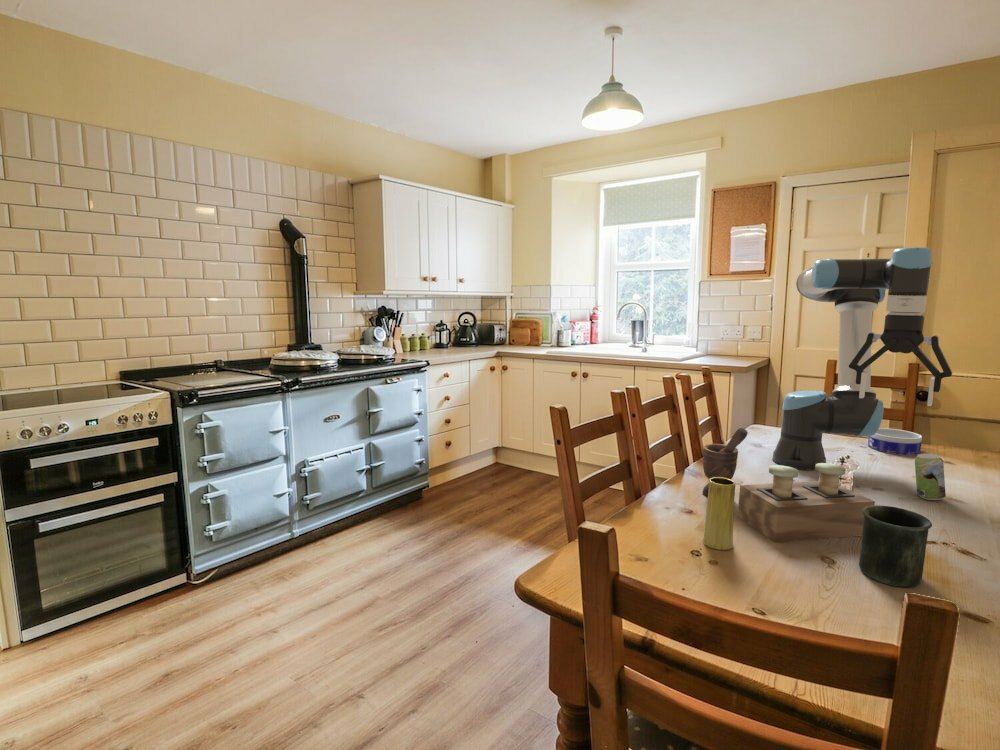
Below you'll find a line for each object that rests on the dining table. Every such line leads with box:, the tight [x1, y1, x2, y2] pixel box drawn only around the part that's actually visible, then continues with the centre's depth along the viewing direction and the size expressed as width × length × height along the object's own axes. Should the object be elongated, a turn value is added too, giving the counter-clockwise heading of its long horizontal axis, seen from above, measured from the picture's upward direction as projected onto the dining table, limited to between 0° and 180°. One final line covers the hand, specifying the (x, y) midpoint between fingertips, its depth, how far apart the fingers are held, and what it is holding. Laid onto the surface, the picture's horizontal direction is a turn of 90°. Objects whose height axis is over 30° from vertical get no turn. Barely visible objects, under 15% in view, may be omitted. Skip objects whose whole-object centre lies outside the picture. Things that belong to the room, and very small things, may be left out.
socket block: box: [737, 480, 876, 543], centre depth 128 cm, size 14×24×8 cm, turn 99°
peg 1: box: [768, 464, 800, 498], centre depth 127 cm, size 6×6×8 cm
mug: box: [858, 504, 933, 588], centre depth 107 cm, size 11×15×12 cm
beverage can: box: [914, 452, 947, 501], centre depth 146 cm, size 6×7×12 cm
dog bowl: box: [867, 427, 923, 456], centre depth 194 cm, size 15×15×6 cm
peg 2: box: [815, 462, 846, 495], centre depth 129 cm, size 6×6×8 cm
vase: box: [702, 477, 736, 551], centre depth 118 cm, size 6×6×14 cm
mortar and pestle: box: [702, 427, 749, 497], centre depth 146 cm, size 12×9×20 cm
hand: (894, 401), depth 134 cm, fingers open, 13 cm apart
